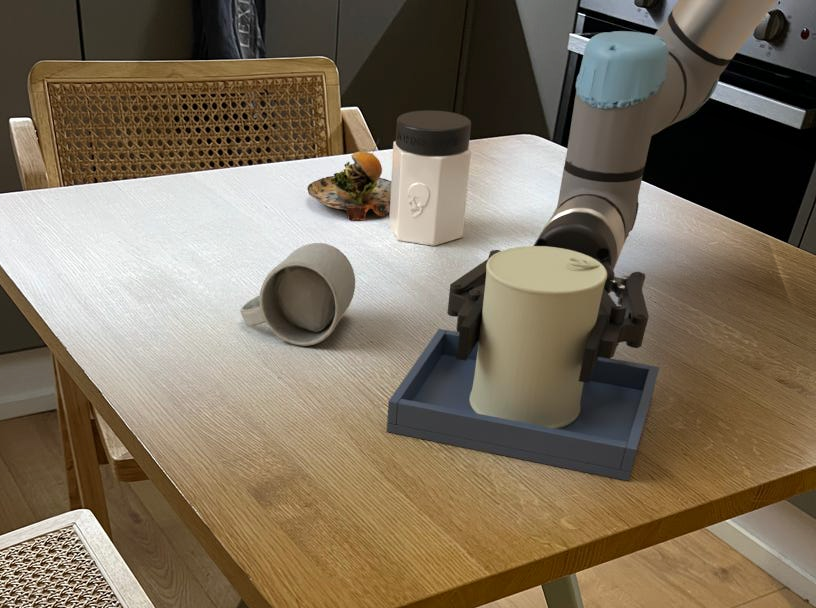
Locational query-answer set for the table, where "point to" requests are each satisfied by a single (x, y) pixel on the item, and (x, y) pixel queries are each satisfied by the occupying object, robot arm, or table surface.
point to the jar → (429, 177)
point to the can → (535, 334)
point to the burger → (355, 188)
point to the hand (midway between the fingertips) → (524, 354)
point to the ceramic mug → (304, 295)
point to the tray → (565, 447)
